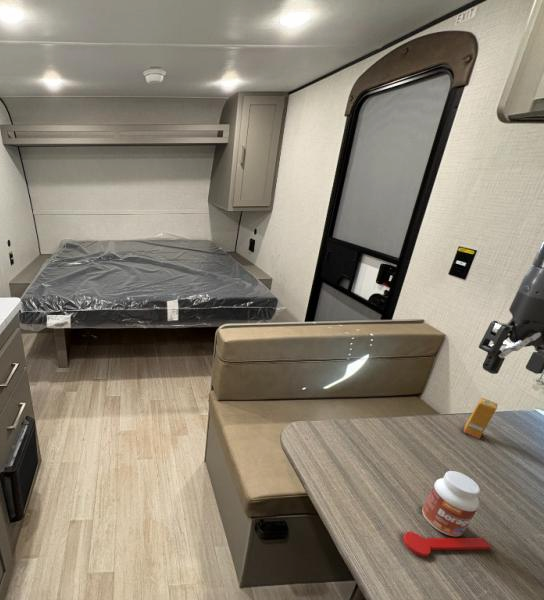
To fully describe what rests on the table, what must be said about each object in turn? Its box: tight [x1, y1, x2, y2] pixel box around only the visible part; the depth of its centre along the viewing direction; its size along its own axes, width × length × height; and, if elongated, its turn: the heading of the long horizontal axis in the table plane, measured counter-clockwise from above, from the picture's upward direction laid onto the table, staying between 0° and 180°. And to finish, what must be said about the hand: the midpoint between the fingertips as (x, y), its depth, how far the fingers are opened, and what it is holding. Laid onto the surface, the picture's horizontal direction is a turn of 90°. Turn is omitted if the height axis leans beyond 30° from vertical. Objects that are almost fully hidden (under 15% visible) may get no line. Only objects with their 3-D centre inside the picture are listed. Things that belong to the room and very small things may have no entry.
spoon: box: [402, 531, 492, 558], centre depth 58 cm, size 15×4×1 cm, turn 90°
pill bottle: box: [421, 470, 481, 538], centre depth 60 cm, size 6×6×11 cm
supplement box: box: [463, 397, 498, 439], centre depth 82 cm, size 3×3×10 cm
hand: (511, 371), depth 62 cm, fingers open, 8 cm apart
